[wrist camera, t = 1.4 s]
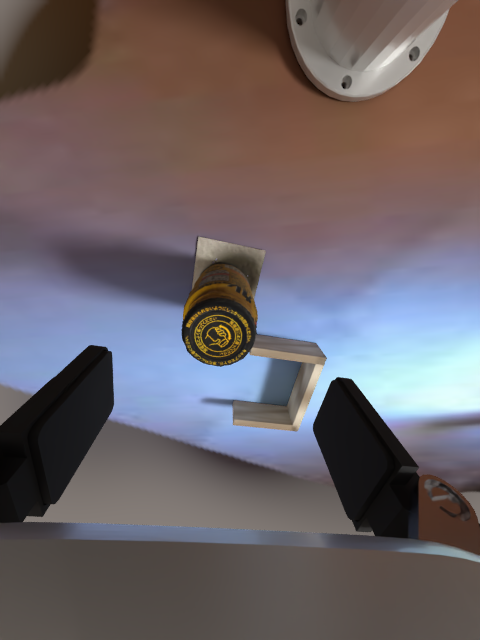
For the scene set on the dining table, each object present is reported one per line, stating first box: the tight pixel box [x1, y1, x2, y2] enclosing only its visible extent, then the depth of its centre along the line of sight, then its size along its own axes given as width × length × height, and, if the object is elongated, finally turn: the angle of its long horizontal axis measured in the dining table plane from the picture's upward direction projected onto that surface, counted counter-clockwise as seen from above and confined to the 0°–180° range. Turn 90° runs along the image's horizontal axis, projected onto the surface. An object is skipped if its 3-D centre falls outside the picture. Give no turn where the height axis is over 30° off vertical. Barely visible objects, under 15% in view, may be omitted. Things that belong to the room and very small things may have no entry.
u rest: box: [233, 334, 327, 431], centre depth 30 cm, size 12×9×4 cm
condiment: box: [182, 237, 266, 367], centre depth 21 cm, size 7×8×12 cm
